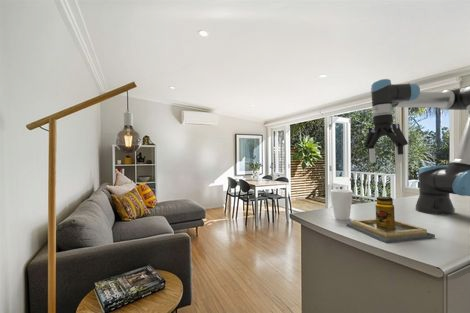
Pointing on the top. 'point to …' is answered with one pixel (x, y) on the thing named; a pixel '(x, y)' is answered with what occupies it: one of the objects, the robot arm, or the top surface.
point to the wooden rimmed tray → (402, 234)
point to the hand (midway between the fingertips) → (385, 162)
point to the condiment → (385, 214)
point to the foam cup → (341, 203)
